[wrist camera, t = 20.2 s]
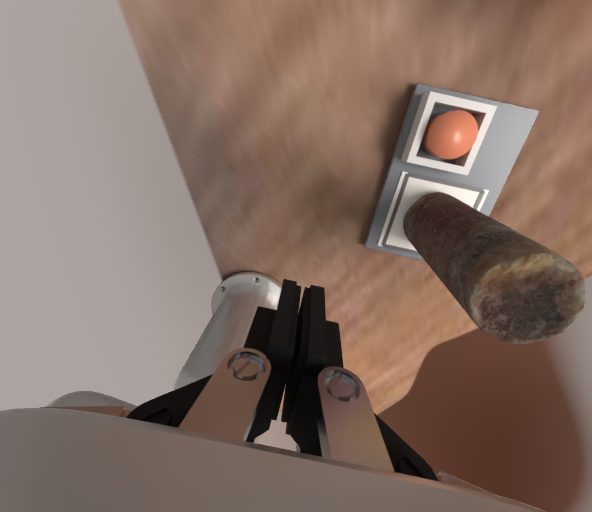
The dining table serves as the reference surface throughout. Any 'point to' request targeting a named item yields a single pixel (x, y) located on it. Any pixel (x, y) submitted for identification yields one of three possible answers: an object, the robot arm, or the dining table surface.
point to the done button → (450, 134)
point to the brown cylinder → (495, 270)
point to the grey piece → (446, 162)
